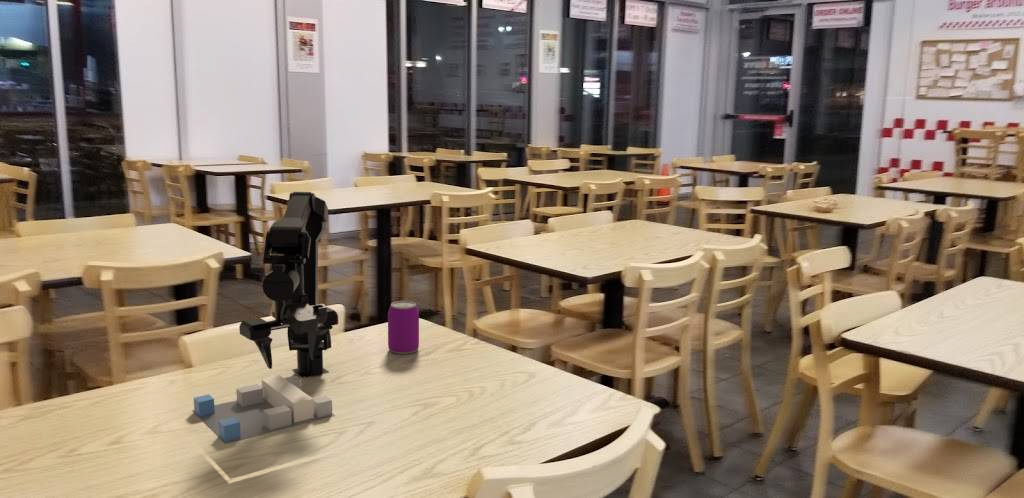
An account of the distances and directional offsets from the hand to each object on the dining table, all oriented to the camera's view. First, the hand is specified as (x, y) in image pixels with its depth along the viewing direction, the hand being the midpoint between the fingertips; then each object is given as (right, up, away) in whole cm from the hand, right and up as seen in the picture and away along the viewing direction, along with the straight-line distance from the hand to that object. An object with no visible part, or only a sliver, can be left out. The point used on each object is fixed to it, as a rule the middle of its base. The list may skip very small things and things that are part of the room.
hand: (291, 363), depth 164 cm
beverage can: (+17, -3, +41) cm, 44 cm away
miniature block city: (-5, -10, -1) cm, 12 cm away
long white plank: (-1, -9, +2) cm, 10 cm away
